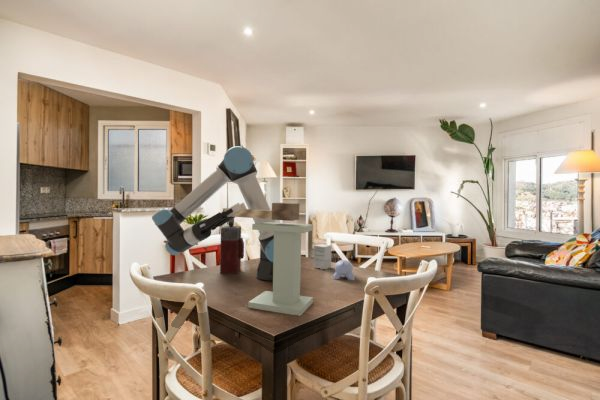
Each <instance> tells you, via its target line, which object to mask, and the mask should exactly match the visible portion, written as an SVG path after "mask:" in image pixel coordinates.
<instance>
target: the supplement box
mask: <svg viewBox="0 0 600 400" xmlns="http://www.w3.org/2000/svg"><path fill="white" fill-rule="evenodd" d="M313 268H314V269H317V268H320V269H319V270H323V269H325V270H327V269H330V268H332V244H331V245H330V244H327V243H326V244H325V243H319V244H315V245H313Z"/></svg>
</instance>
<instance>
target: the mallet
mask: <svg viewBox="0 0 600 400" xmlns="http://www.w3.org/2000/svg"><path fill="white" fill-rule="evenodd" d="M229 208H230V207H225V208H224V207H223V208H222V212H225V211H226V210H227V209H229ZM230 217H235V218H247V219H248V218H250V219H253V218H262V219H272V220H275V221H291V222H293V221H294V222H295V221H297V220H300V203H299V202H272V203H271V209H270V210H254V209H248V208H247V209H241V210H240V211H238V212H236V213H235V214H233V215H231V216H230Z"/></svg>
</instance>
